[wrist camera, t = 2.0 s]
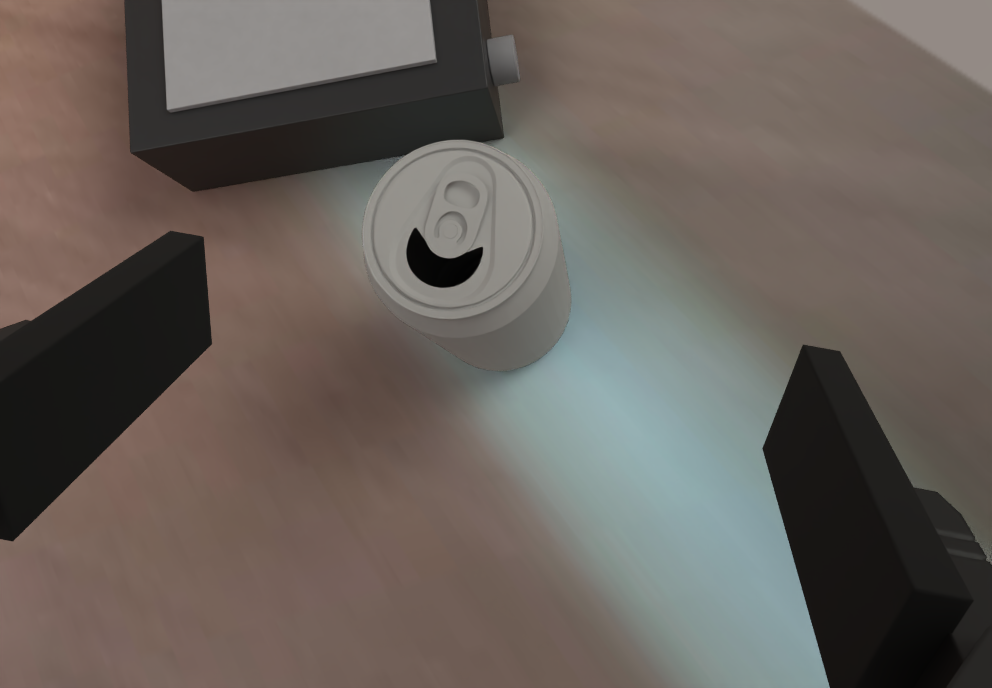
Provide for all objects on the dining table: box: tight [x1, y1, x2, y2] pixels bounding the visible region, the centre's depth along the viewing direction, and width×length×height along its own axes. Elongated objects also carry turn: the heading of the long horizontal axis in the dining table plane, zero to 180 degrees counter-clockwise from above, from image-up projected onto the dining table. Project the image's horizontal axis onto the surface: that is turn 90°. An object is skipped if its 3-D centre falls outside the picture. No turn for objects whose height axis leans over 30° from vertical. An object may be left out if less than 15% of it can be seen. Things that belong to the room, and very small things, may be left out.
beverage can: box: [362, 140, 571, 371], centre depth 28 cm, size 6×6×12 cm
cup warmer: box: [124, 0, 520, 191], centre depth 34 cm, size 17×14×5 cm
